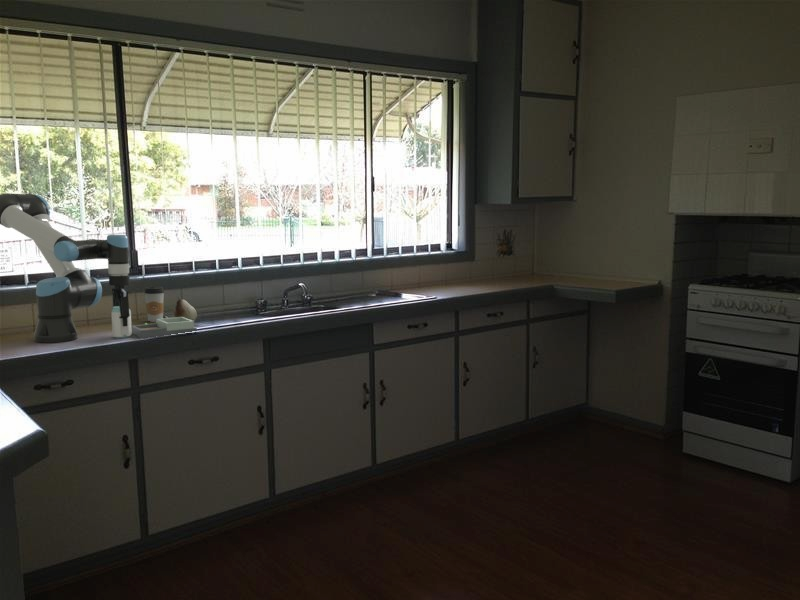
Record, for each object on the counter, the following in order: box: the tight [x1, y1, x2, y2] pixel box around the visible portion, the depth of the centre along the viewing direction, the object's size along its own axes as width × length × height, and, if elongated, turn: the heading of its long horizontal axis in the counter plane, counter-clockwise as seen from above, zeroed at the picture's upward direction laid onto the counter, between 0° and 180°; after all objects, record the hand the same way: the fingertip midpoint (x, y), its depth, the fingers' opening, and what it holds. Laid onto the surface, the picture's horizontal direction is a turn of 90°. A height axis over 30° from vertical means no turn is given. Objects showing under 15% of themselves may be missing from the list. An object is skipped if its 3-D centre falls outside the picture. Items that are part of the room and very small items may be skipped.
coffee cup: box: [144, 286, 165, 323], centre depth 315 cm, size 8×8×15 cm
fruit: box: [173, 297, 198, 322], centre depth 304 cm, size 10×9×12 cm
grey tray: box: [131, 317, 198, 339], centre depth 284 cm, size 22×14×5 cm, turn 126°
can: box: [110, 306, 133, 339], centre depth 276 cm, size 7×7×12 cm
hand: (122, 332), depth 276 cm, fingers closed on can, 7 cm apart
